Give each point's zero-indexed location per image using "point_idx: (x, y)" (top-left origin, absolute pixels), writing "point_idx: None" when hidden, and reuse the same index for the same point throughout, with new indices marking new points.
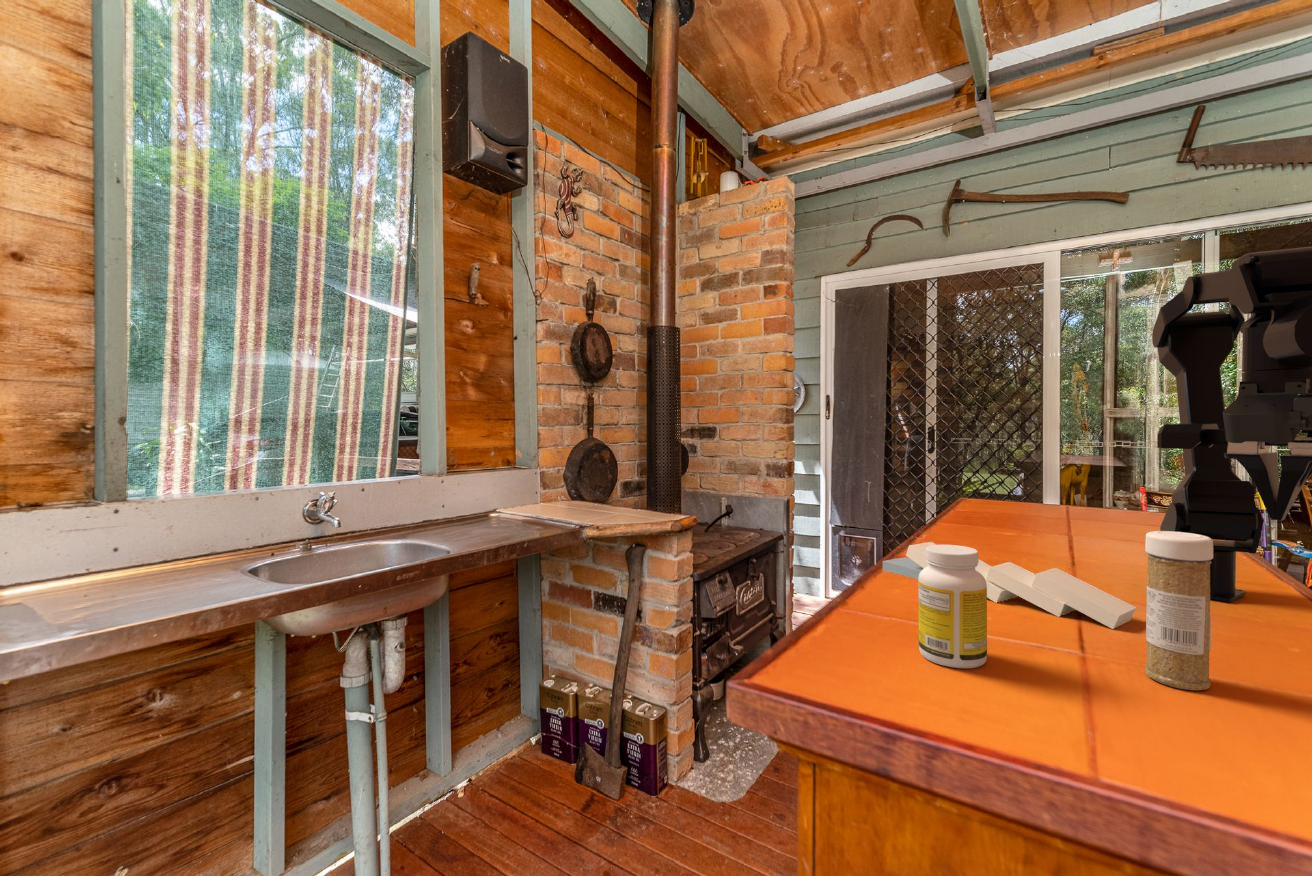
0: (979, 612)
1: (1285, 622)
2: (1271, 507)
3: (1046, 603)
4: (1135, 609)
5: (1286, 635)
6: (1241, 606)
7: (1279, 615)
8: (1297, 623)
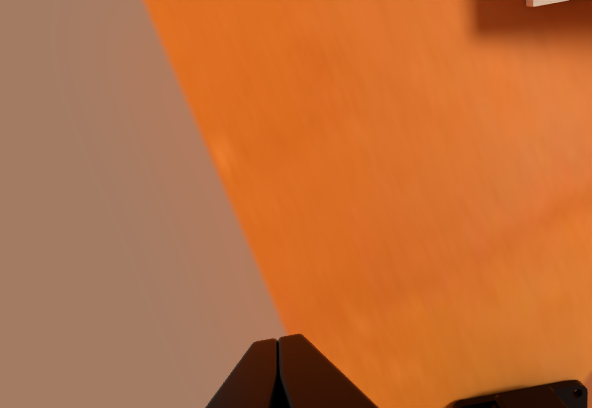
0: None
1: None
2: (296, 364)
3: None
4: (532, 3)
5: (280, 255)
6: (428, 403)
7: None
8: None
